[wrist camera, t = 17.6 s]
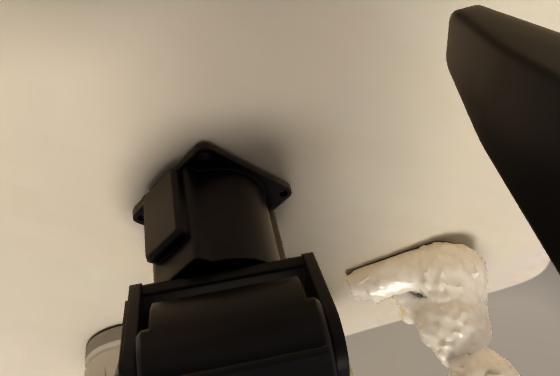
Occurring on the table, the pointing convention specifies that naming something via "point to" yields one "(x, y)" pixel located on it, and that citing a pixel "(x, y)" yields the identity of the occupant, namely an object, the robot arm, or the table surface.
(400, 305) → the white creature statuette
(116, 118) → the table surface
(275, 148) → the table surface
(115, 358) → the travel mug
